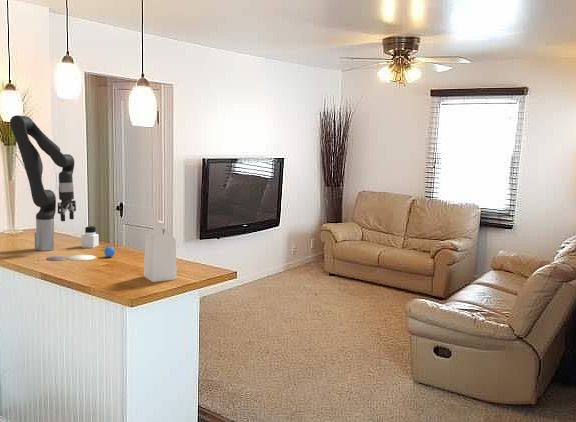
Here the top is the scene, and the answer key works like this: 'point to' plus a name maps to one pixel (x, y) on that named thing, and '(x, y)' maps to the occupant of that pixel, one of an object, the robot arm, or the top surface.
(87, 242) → the medicine bottle
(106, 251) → the ball
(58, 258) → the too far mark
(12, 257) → the top surface
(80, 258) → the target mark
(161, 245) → the milk
